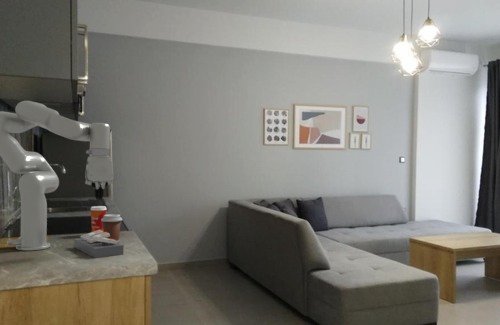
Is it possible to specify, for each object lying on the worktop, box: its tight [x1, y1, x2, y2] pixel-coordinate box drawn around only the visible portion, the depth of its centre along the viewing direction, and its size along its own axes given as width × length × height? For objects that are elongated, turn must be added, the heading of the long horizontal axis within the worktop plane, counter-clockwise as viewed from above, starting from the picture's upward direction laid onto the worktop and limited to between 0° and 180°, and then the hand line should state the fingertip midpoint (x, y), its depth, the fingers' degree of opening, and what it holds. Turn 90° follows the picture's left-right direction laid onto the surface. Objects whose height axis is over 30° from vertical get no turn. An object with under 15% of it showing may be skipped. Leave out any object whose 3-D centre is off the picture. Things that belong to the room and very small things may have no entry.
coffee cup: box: [101, 213, 123, 243], centre depth 188 cm, size 9×9×12 cm
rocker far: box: [80, 230, 103, 240], centre depth 173 cm, size 8×4×1 cm, turn 131°
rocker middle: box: [86, 232, 110, 243], centre depth 168 cm, size 8×4×1 cm, turn 131°
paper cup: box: [90, 205, 107, 232], centre depth 203 cm, size 8×8×14 cm
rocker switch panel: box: [73, 238, 125, 259], centre depth 168 cm, size 11×24×4 cm, turn 40°
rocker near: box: [93, 236, 118, 244], centre depth 162 cm, size 8×4×1 cm, turn 130°
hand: (98, 198), depth 168 cm, fingers closed
